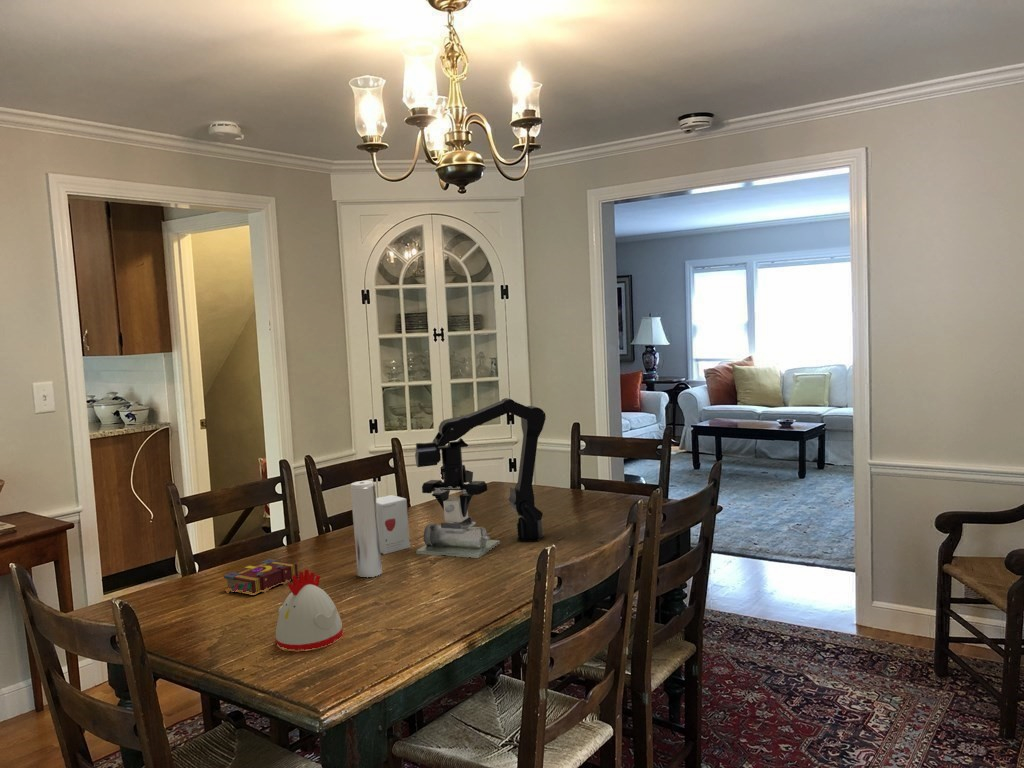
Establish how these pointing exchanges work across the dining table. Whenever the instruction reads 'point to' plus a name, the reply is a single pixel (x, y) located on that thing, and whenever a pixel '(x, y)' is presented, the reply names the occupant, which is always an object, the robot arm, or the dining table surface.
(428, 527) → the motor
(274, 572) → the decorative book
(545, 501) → the dining table surface
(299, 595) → the kitchen timer
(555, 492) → the dining table surface
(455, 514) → the off-white cube
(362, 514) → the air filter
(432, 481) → the robot arm
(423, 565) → the dining table surface
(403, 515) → the supplement box
